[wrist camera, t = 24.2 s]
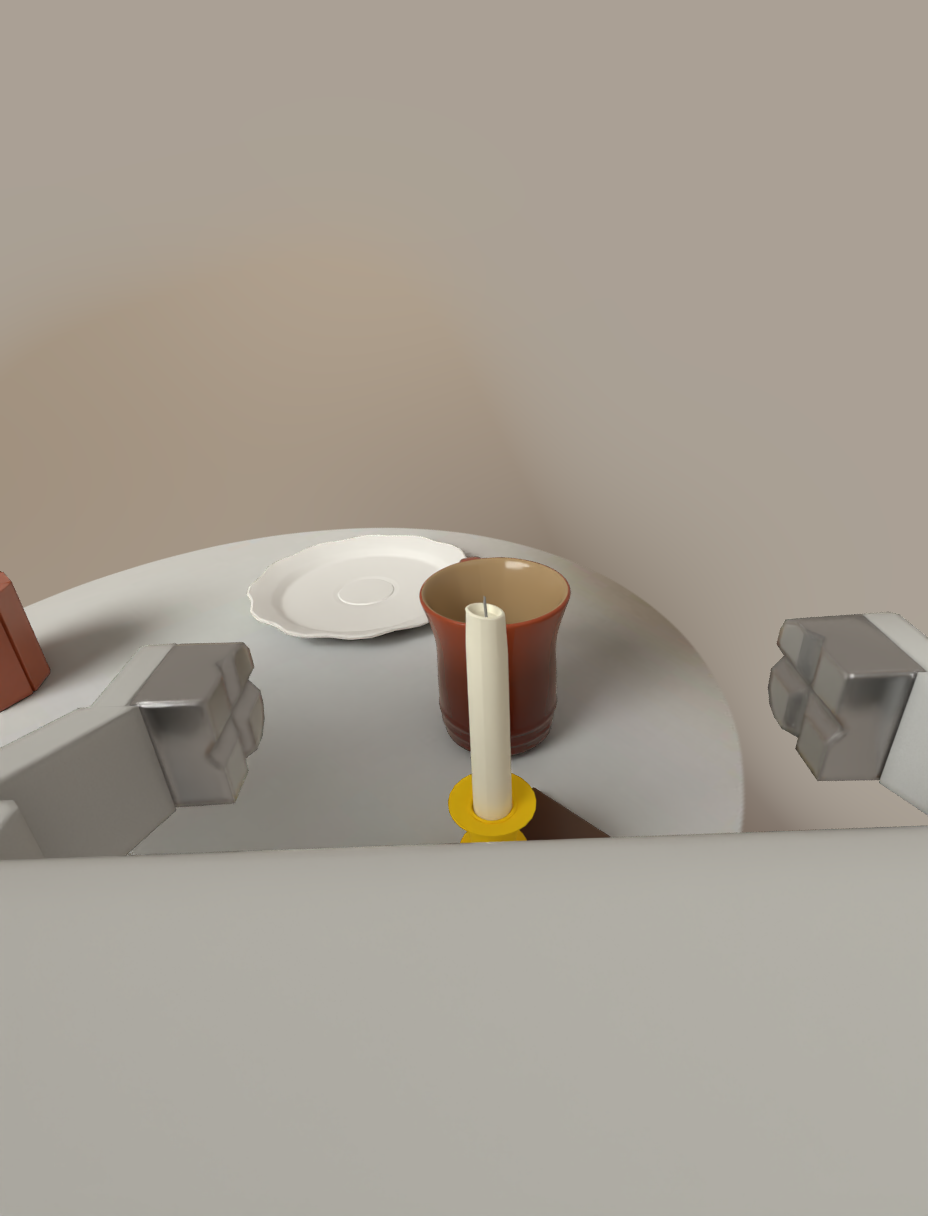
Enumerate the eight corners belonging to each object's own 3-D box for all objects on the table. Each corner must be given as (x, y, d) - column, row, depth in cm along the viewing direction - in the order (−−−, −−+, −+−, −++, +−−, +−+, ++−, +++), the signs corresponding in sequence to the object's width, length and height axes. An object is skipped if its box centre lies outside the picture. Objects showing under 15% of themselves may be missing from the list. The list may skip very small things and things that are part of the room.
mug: (586, 759, 39) (594, 612, 34) (445, 786, 37) (432, 637, 33) (528, 655, 49) (528, 531, 44) (416, 673, 48) (403, 547, 43)
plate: (490, 550, 67) (489, 535, 66) (458, 659, 49) (457, 641, 48) (302, 547, 70) (299, 533, 70) (208, 648, 52) (203, 631, 52)
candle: (511, 824, 34) (506, 554, 26) (572, 898, 30) (586, 605, 22) (422, 866, 32) (389, 587, 24) (474, 953, 28) (454, 649, 20)
